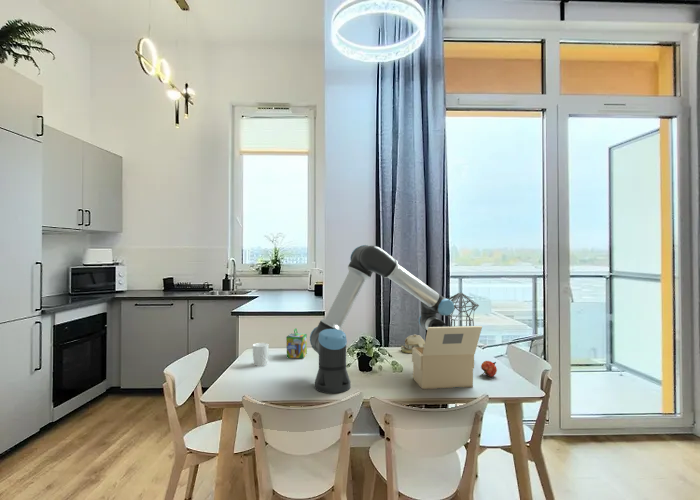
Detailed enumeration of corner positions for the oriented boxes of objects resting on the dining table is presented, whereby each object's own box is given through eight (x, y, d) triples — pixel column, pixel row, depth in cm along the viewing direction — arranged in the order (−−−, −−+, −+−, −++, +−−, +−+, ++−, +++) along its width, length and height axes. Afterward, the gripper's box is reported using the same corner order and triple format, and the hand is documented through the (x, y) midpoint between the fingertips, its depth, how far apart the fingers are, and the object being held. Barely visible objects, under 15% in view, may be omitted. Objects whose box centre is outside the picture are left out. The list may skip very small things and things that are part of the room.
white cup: (270, 365, 205) (270, 345, 205) (253, 367, 202) (253, 347, 202) (267, 361, 212) (267, 342, 212) (251, 363, 209) (251, 343, 209)
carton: (420, 389, 172) (420, 355, 172) (411, 378, 186) (411, 347, 186) (474, 387, 175) (474, 354, 175) (461, 376, 189) (461, 345, 189)
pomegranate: (486, 384, 185) (504, 370, 185) (476, 370, 186) (493, 357, 186) (482, 380, 192) (499, 367, 193) (472, 367, 193) (489, 354, 193)
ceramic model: (423, 348, 239) (423, 331, 239) (429, 353, 228) (429, 335, 228) (399, 349, 237) (399, 332, 237) (405, 354, 226) (405, 336, 226)
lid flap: (422, 354, 171) (423, 355, 171) (427, 327, 164) (428, 328, 164) (474, 353, 174) (474, 354, 173) (481, 325, 167) (482, 327, 166)
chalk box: (302, 359, 217) (302, 331, 217) (286, 358, 218) (286, 330, 218) (307, 354, 226) (307, 327, 226) (291, 353, 227) (291, 326, 227)
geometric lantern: (471, 355, 225) (471, 291, 224) (479, 363, 209) (480, 294, 208) (441, 355, 225) (442, 291, 224) (448, 363, 209) (448, 294, 209)
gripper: (449, 334, 194) (471, 346, 171) (422, 335, 192) (441, 347, 169) (449, 318, 194) (471, 328, 171) (422, 319, 192) (441, 329, 169)
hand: (456, 338), depth 170 cm, fingers closed
